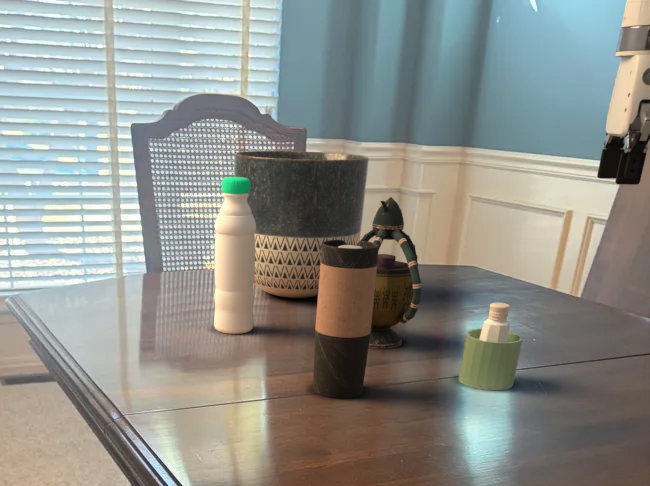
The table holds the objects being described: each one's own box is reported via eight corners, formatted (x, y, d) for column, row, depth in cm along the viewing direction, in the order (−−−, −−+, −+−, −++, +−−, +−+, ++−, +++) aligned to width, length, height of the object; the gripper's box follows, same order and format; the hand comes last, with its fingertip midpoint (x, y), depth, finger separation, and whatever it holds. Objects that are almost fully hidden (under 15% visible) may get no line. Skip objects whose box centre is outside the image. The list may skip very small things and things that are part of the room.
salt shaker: (464, 372, 119) (477, 299, 113) (500, 373, 118) (514, 300, 113) (472, 383, 114) (485, 307, 108) (509, 384, 114) (524, 309, 108)
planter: (213, 285, 172) (214, 150, 158) (319, 279, 181) (328, 151, 168) (262, 313, 151) (268, 159, 137) (379, 304, 160) (395, 159, 147)
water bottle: (206, 328, 139) (206, 176, 127) (235, 322, 144) (238, 175, 131) (231, 337, 135) (233, 180, 122) (261, 330, 139) (266, 178, 127)
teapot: (346, 354, 127) (360, 202, 116) (333, 317, 149) (343, 186, 137) (419, 356, 127) (440, 204, 116) (395, 319, 149) (411, 187, 137)
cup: (508, 375, 119) (517, 330, 116) (517, 392, 112) (526, 344, 109) (456, 372, 120) (463, 327, 117) (461, 388, 113) (469, 341, 110)
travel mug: (333, 402, 107) (346, 250, 97) (300, 387, 112) (309, 241, 102) (375, 393, 110) (392, 246, 100) (341, 379, 116) (353, 238, 106)
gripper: (700, 39, 98) (663, 187, 106) (655, 47, 113) (626, 176, 121) (638, 40, 98) (606, 186, 107) (601, 48, 113) (576, 176, 122)
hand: (617, 181), depth 114 cm, fingers open, 9 cm apart
